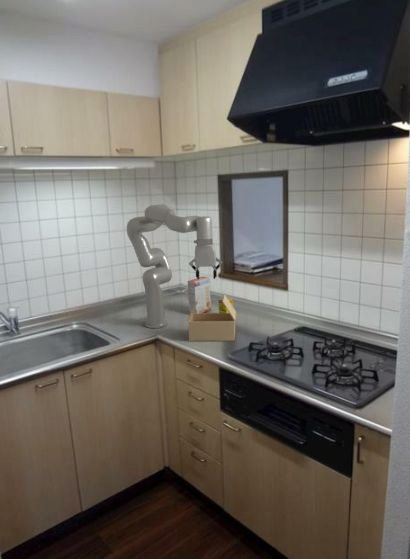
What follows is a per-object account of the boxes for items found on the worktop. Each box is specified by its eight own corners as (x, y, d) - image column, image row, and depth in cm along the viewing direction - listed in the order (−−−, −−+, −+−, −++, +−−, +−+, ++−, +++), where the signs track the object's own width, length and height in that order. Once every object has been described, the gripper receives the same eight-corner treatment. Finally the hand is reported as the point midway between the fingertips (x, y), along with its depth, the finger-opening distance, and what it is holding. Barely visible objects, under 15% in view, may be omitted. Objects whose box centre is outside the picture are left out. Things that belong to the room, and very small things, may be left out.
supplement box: (218, 318, 243) (218, 299, 240) (225, 315, 247) (224, 297, 245) (226, 319, 239) (226, 301, 236) (233, 317, 243) (232, 298, 241)
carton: (189, 341, 208) (188, 322, 205) (193, 331, 221) (192, 313, 219) (234, 341, 205) (233, 321, 203) (235, 331, 219) (234, 313, 217)
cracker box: (203, 309, 261) (202, 275, 257) (211, 310, 258) (210, 276, 253) (188, 314, 251) (187, 280, 246) (196, 316, 247) (194, 281, 243)
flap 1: (201, 295, 216) (200, 294, 216) (198, 302, 203) (197, 301, 203) (191, 313, 219) (190, 312, 219) (187, 321, 206) (186, 320, 206)
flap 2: (222, 301, 202) (223, 301, 202) (223, 294, 215) (224, 294, 215) (234, 320, 203) (235, 320, 203) (235, 312, 216) (236, 312, 216)
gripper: (185, 244, 201) (187, 280, 204) (222, 243, 199) (223, 279, 202) (187, 242, 208) (189, 277, 212) (223, 241, 206) (224, 276, 210)
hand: (206, 278), depth 207 cm, fingers open, 7 cm apart
